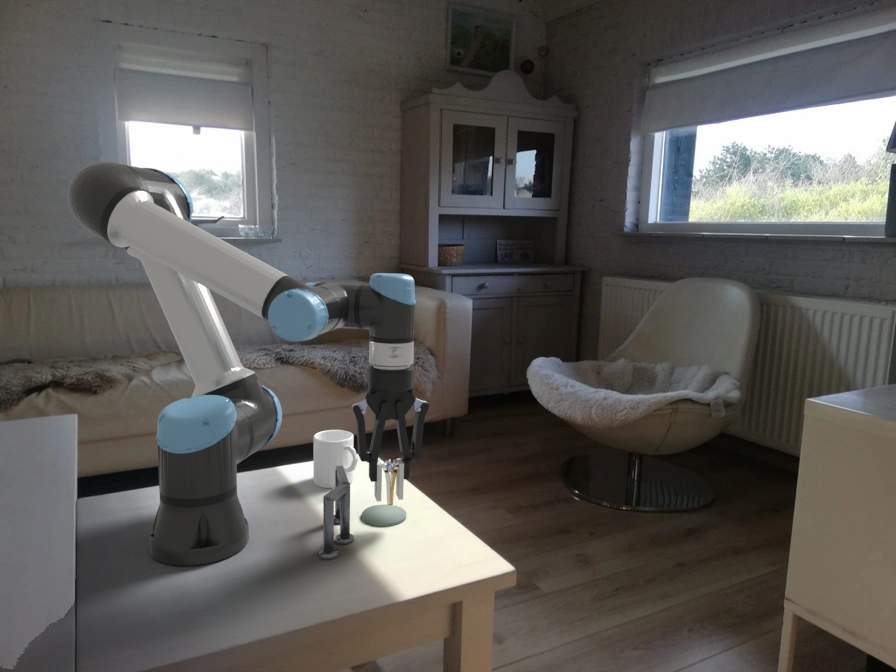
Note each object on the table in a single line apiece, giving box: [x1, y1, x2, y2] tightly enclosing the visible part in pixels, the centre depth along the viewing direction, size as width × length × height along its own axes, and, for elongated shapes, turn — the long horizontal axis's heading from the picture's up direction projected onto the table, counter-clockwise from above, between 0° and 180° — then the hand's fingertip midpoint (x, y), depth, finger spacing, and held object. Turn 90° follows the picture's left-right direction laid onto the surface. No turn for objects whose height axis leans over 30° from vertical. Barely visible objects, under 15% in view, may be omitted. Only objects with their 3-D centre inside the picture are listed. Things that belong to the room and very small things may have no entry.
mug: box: [312, 429, 359, 489], centre depth 133 cm, size 8×12×10 cm
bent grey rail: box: [318, 466, 355, 561], centre depth 109 cm, size 8×15×10 cm, turn 161°
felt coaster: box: [361, 504, 407, 527], centre depth 118 cm, size 8×8×1 cm
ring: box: [381, 458, 399, 505], centre depth 112 cm, size 7×3×8 cm, turn 0°
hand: (388, 497), depth 113 cm, fingers closed on ring, 3 cm apart
